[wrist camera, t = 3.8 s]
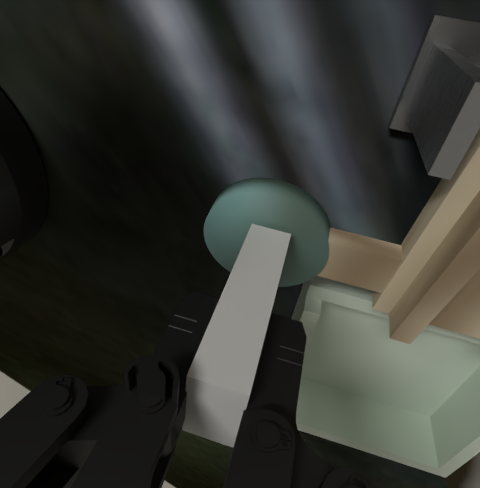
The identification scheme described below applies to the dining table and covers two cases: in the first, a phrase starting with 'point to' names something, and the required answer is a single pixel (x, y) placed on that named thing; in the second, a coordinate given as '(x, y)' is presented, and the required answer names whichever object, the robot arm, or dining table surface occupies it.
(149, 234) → the dining table surface
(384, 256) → the lever
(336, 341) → the tray
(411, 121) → the stand
